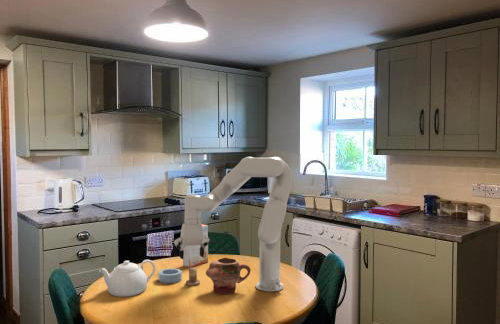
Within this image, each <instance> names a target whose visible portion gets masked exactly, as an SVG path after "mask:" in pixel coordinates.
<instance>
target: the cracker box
mask: <svg viewBox="0 0 500 324" xmlns="http://www.w3.org/2000/svg"><path fill="white" fill-rule="evenodd" d="M201 224H202V223H201ZM202 228H203V236H205V237H208V238H209V236H208V235H209V232H208V231H209V226H208V224H202ZM205 241H206V239H203V243H204V242H205ZM200 247H201V246H200V245H195V246H185V247H184V249H183V251H184V259H182V266H183V267H186V268H188V269H189V268H195V267H196V266H199V265H200V266H201V265H202V264H205V263H208V262H209V244H208V245H207V246H206V247H205V248H204V255H203V257H201V256H200Z"/></svg>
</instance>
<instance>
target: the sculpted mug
mask: <svg viewBox="0 0 500 324" xmlns="http://www.w3.org/2000/svg"><path fill="white" fill-rule="evenodd" d="M242 269H245V270H246V271H247V273H246V274H245V276H241V271H242ZM250 274H251V267H250V266H249V265H248V264H245V263H239V261H238V260H237V259H234V258H231V257H221V258H218V259H215V260H213V261H211V262H210V264H209V266H208V267H207V269H206V271H205V275H206V276H207V277H208V278H209V279H210V280H211V281H212V283H213V284H212V285H213V292H214V293H216V294H218V295H231V294H234V293H235V291H236V289H237V284H240V283H242V282H244V281H245V280H246V279H247V278H248V277H249V276H250Z"/></svg>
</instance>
